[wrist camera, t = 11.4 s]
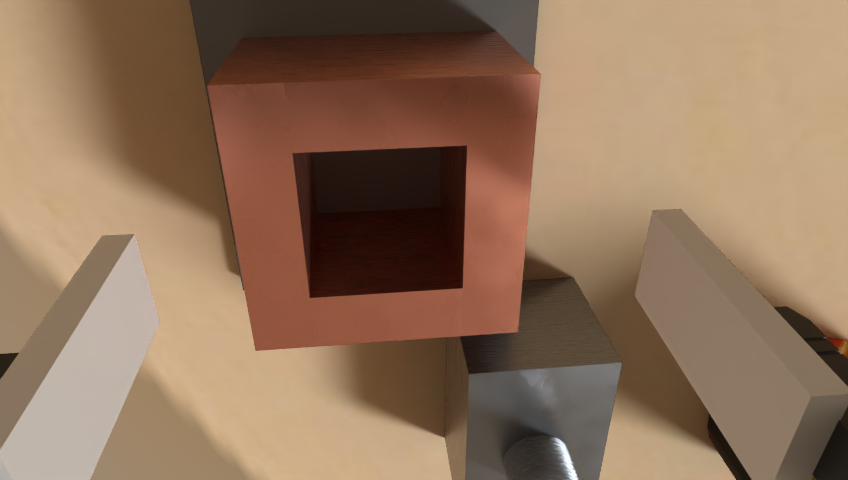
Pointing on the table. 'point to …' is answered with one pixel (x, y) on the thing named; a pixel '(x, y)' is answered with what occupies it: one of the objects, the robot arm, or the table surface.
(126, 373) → the robot arm
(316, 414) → the table surface
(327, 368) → the table surface
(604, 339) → the toggle switch
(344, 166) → the mat
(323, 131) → the red square hollow block
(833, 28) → the table surface
